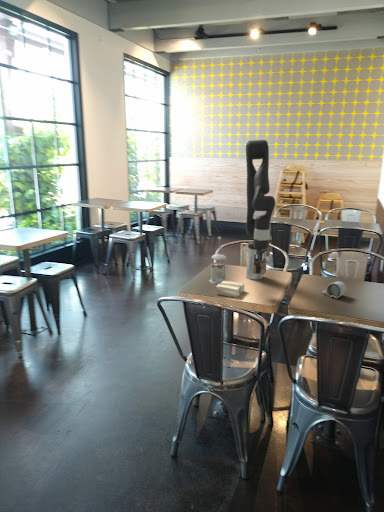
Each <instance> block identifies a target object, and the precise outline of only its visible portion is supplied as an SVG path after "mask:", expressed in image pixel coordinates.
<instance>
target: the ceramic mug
mask: <svg viewBox="0 0 384 512" xmlns="http://www.w3.org/2000/svg"><path fill="white" fill-rule="evenodd" d="M347 289H348V288H347V285H346V284H345V282H343V281H340V280H339V281H335V282H331V283H329V284H327V286H326V288H325V289H323V290H322V294H323V293H324V294H323V295H326V294H327V296H328V297H329V296H331V295H334V296H336V299H338V298H340V297H341V296H344V295H345V294H346V293H347ZM337 296H338V297H337Z"/></svg>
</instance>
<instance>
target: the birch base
mask: <svg viewBox="0 0 384 512" xmlns="http://www.w3.org/2000/svg"><path fill="white" fill-rule="evenodd" d="M244 292H245V283H242V282H236V281H233V280H227V279H225V280H224V281H222V282H221V283H220V284H216V285H215V295H219V296H225V297H229V298H230V297H231V298H238V297H239V296H240V295H241V294H243V293H244Z"/></svg>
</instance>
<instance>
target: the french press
mask: <svg viewBox="0 0 384 512" xmlns="http://www.w3.org/2000/svg"><path fill="white" fill-rule="evenodd" d="M217 239H218V242H219V243H218V246H220V243H221V242H220V241H221V239H222V237H221V236H218V237H217ZM211 259H212V260H216V261H217V262H212V264H211V266H210V279H209V280H208V282H209V281H210V282H211V283H210V282H209V283H210V284H213V283H214V284H215V285H218V284H220V283H221V282H222V281H224V280H226V271H228V270H227V269H228V267H229V264H227V263H229V261H228V259H227V256H225V255H224V254H220V253H215V254H213V255H212V256H211ZM220 260H221V261H223V262H220ZM224 262H225V263H224ZM226 265H227V267H226ZM214 284H213V285H214Z"/></svg>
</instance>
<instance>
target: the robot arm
mask: <svg viewBox="0 0 384 512" xmlns="http://www.w3.org/2000/svg"><path fill="white" fill-rule="evenodd" d="M269 148H270V147H269V143H268V141H267V140H265V139H258V140H256V139H255V140H248V141H247V142H246V145H245V160H246V162H245V163H246V207H247V208H246V224H245V225H246V226H245V229H246V230H245V232H246V234H247V235H248V236H252V237H253V240H252V241H249V242H248V244H247V256H246V257H247V261H246V262H247V263H246V274H245V275H246V278H247V279H249V280H262V279H263V278H264V275H260V271H261V262H262V261H263V260H267V253H268V252H267V251H268V249H269V247H270V241H271V240H270V239H271V238H270V237H271V230H270V228H271V219H272V215H273V212H274V209H275V207H276V199H275V197H274V196H271V195H268V194H269V193H270V190H271V188H270V179H269V166H270V162H269V161H270V159H269V158H270V157H269V155H270V152H269ZM253 160H254V161H255V160H262V161H261V163H260V166H259V168H258V169H256V167H255V165H254V163H253V162H254V161H253ZM255 212H264V214H262V215H258V216H256V217H255V218H254V214H255ZM257 262H258V263H257ZM254 265H255V266H256V273H258V274H253V266H254Z"/></svg>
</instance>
